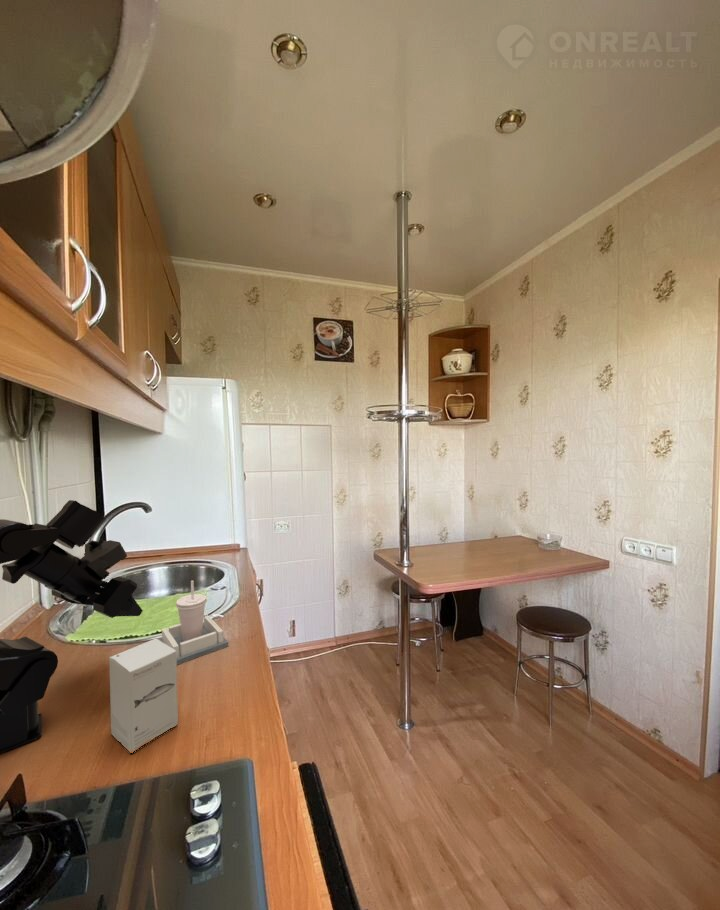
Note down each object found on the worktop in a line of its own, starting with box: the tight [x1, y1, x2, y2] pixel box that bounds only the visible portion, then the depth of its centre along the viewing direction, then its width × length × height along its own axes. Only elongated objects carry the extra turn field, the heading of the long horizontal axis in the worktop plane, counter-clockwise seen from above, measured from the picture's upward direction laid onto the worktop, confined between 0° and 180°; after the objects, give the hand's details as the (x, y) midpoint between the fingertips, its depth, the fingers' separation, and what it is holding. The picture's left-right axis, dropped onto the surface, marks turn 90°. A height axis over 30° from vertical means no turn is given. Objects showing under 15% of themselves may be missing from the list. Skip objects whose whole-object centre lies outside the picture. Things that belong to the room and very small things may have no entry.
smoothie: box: [175, 580, 207, 642], centre depth 85 cm, size 6×6×14 cm
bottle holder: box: [157, 614, 229, 666], centre depth 86 cm, size 12×12×4 cm
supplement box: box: [108, 638, 179, 752], centre depth 60 cm, size 7×7×13 cm
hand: (126, 608), depth 74 cm, fingers open, 9 cm apart
